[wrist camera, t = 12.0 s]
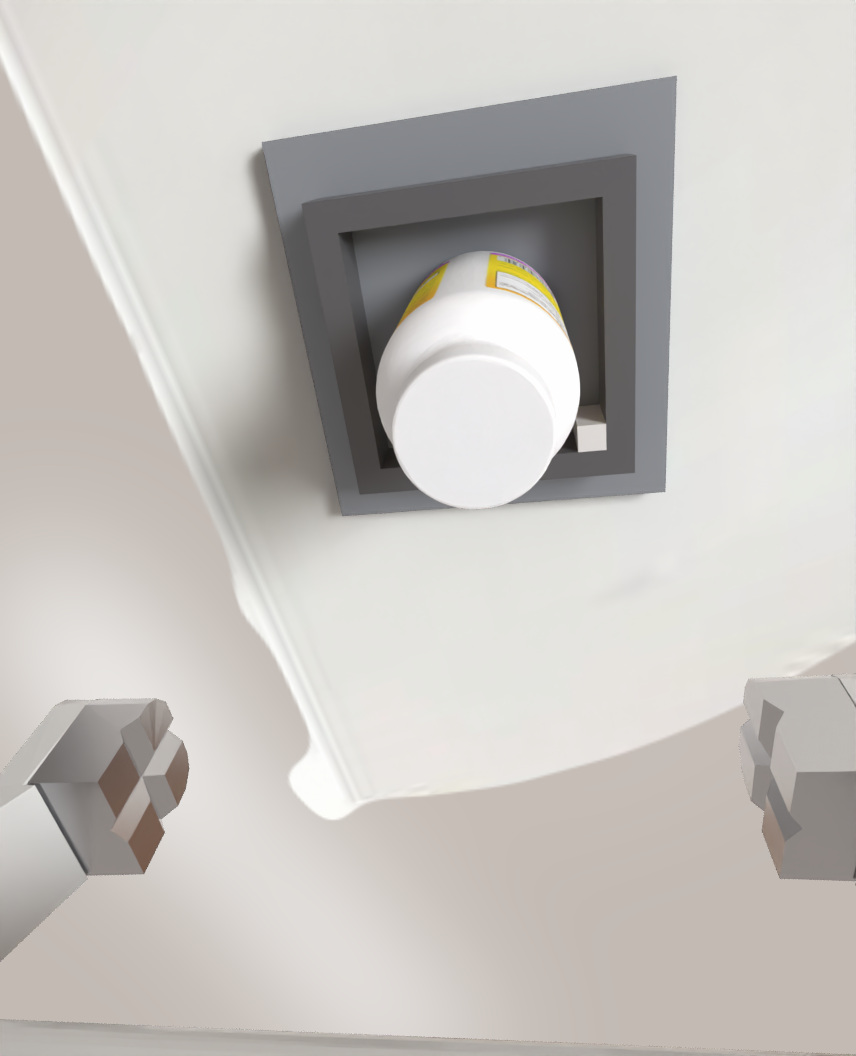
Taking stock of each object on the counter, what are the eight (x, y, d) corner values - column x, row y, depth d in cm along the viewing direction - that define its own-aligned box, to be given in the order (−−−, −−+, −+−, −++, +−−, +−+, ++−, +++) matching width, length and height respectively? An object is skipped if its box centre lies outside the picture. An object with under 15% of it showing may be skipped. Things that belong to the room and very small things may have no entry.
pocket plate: (269, 142, 29) (241, 142, 26) (671, 77, 27) (692, 69, 24) (346, 507, 37) (331, 540, 34) (661, 482, 35) (675, 516, 32)
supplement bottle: (418, 407, 33) (373, 546, 22) (397, 258, 30) (332, 331, 19) (564, 394, 32) (594, 532, 21) (558, 238, 29) (590, 302, 18)
